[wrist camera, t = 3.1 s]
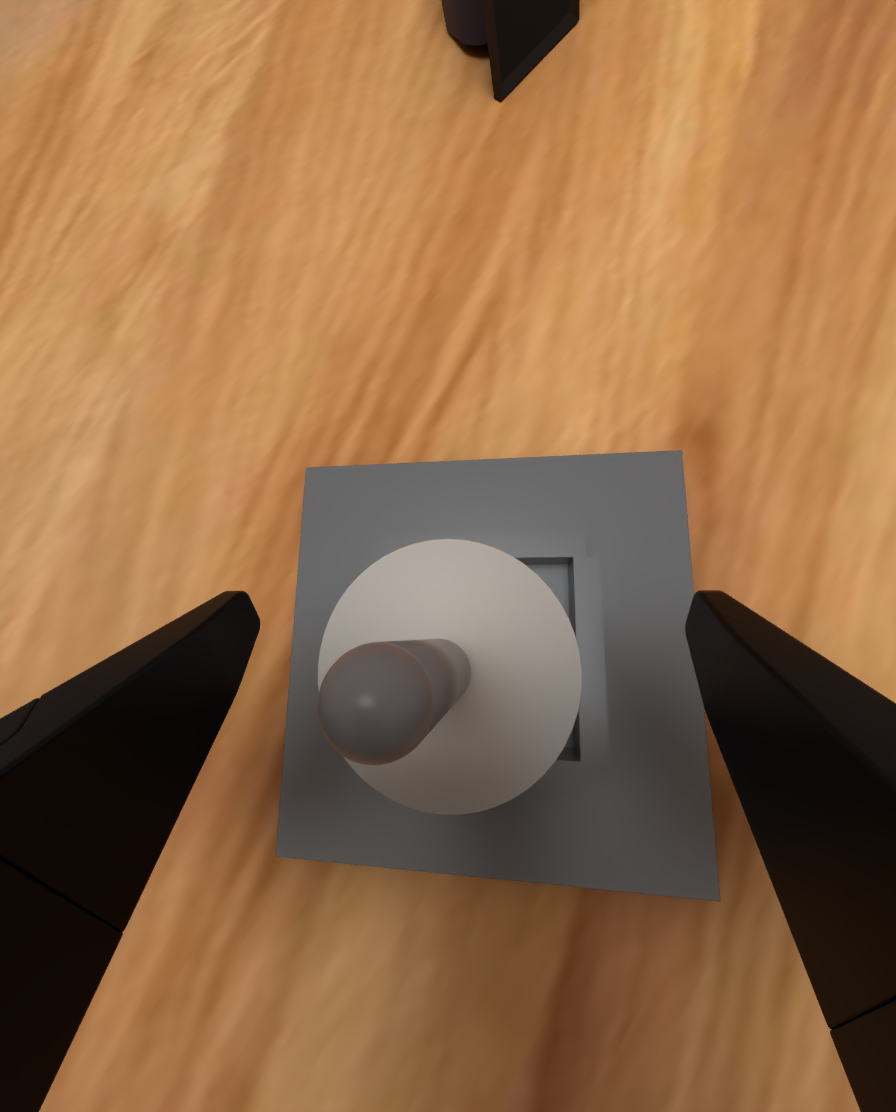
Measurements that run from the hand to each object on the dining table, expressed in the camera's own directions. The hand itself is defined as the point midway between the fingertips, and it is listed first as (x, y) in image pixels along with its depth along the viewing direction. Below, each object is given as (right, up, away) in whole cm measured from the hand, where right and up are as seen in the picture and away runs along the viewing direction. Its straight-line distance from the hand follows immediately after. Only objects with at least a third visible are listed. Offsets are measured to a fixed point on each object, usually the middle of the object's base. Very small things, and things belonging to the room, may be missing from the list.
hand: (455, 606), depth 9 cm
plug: (+1, -2, +6) cm, 7 cm away
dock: (+1, -2, +7) cm, 7 cm away
